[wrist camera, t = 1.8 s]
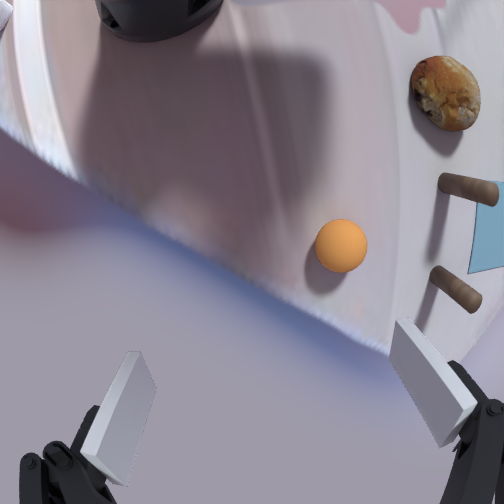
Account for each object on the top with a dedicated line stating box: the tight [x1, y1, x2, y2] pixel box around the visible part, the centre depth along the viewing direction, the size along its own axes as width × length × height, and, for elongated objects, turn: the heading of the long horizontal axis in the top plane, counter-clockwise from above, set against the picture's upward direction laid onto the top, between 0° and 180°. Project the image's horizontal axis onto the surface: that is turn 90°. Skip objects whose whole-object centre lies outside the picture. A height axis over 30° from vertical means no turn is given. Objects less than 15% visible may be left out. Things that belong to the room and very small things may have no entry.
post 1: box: [438, 173, 499, 207], centre depth 24 cm, size 3×3×9 cm
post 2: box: [430, 265, 482, 314], centre depth 29 cm, size 3×3×9 cm
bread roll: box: [411, 56, 481, 131], centre depth 23 cm, size 10×10×8 cm
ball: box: [315, 219, 367, 273], centre depth 28 cm, size 6×6×6 cm
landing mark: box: [468, 181, 504, 273], centre depth 31 cm, size 14×14×1 cm
